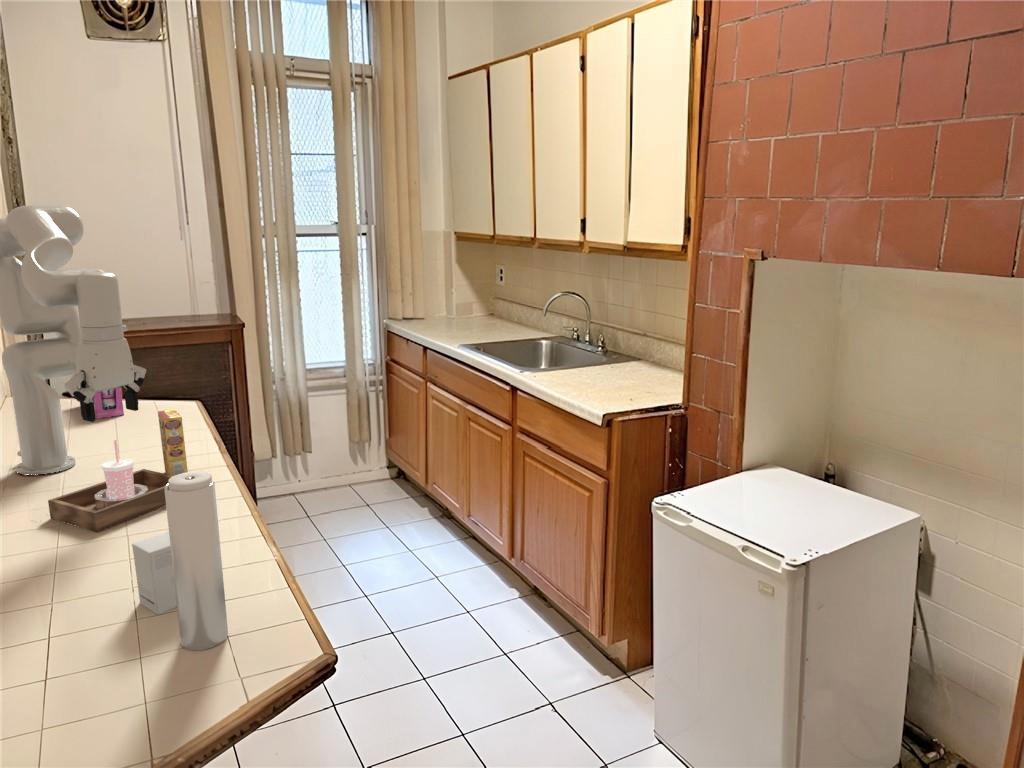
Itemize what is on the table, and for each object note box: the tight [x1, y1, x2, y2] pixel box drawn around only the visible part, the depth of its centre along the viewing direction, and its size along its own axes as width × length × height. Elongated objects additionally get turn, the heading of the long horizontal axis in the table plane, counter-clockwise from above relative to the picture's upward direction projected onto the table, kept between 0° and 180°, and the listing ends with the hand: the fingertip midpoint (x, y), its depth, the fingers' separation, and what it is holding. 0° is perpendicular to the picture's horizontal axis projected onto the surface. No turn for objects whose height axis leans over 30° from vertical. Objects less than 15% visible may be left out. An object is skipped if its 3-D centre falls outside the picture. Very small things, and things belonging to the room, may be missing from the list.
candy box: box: [157, 408, 189, 476], centre depth 178 cm, size 9×4×15 cm, turn 33°
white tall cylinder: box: [164, 471, 229, 651], centre depth 107 cm, size 6×6×25 cm
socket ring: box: [94, 484, 148, 510], centre depth 159 cm, size 10×10×2 cm
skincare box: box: [131, 531, 177, 615], centre depth 121 cm, size 10×6×10 cm, turn 141°
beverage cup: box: [101, 439, 135, 499], centre depth 158 cm, size 6×6×14 cm
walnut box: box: [47, 468, 173, 533], centre depth 159 cm, size 15×22×4 cm
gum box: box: [91, 387, 125, 419], centre depth 238 cm, size 24×8×14 cm, turn 35°
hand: (111, 415), depth 156 cm, fingers open, 9 cm apart
